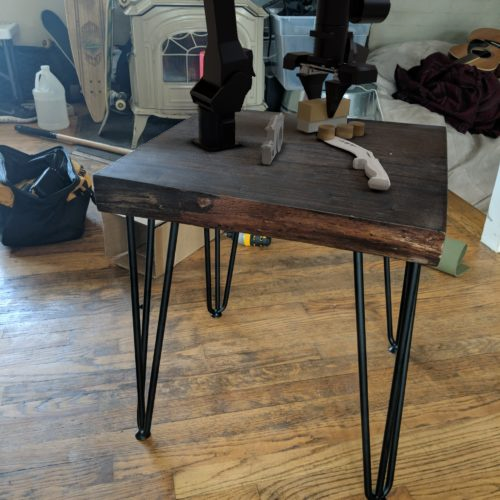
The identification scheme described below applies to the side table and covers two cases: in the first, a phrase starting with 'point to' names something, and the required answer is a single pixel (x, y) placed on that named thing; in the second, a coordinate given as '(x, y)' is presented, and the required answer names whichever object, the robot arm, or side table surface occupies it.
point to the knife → (364, 163)
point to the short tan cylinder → (344, 131)
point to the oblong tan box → (320, 114)
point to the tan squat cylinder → (326, 132)
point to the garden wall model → (273, 138)
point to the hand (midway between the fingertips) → (323, 115)
